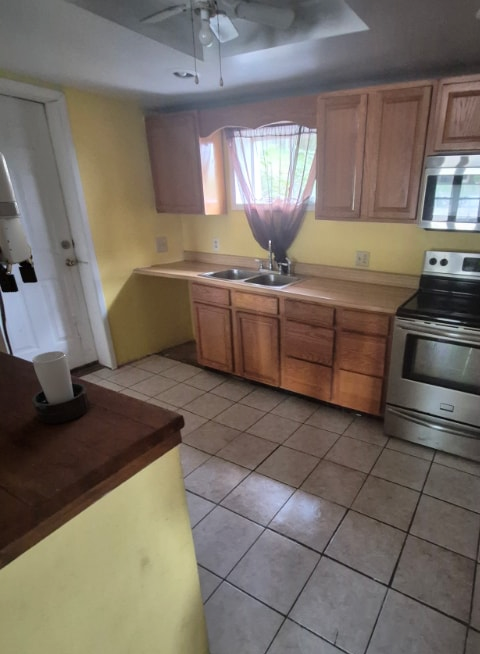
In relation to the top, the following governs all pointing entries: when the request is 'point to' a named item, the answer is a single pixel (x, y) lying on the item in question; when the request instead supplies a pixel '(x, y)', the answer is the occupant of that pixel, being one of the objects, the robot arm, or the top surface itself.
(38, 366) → the drinking glass
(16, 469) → the top surface
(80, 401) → the bowl
